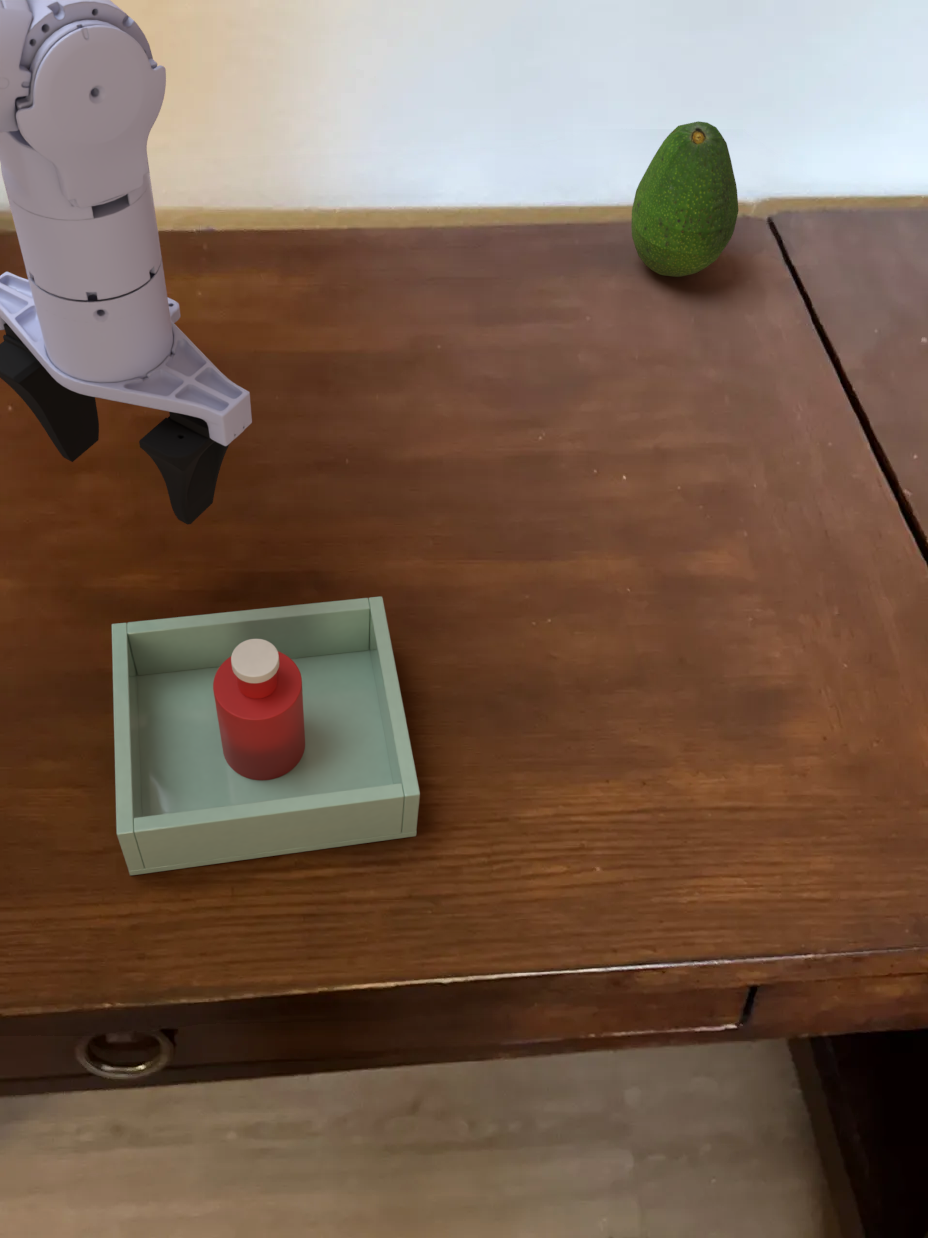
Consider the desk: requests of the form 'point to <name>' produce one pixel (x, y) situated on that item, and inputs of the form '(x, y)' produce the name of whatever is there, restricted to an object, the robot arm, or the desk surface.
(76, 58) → the robot arm
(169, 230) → the desk surface
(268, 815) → the tray
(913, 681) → the desk surface
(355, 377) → the desk surface
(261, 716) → the bottle
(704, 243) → the fruit
